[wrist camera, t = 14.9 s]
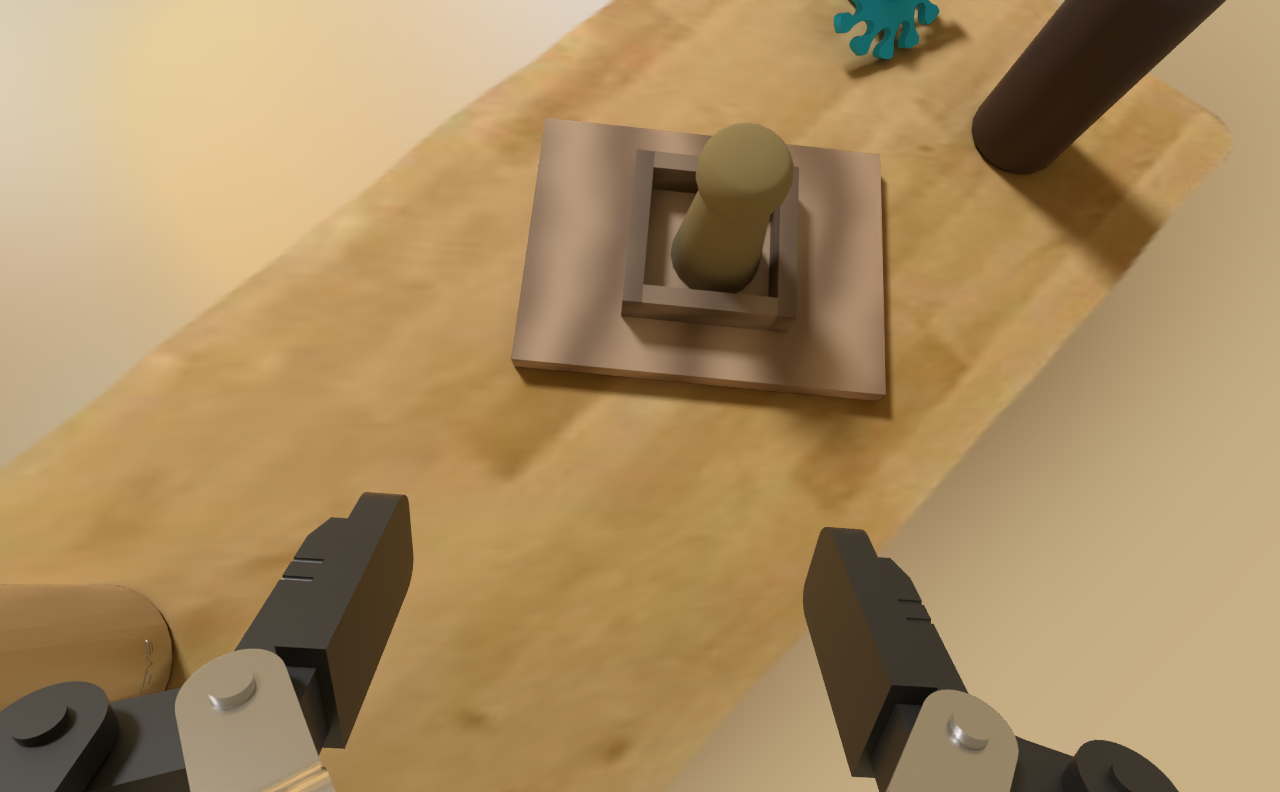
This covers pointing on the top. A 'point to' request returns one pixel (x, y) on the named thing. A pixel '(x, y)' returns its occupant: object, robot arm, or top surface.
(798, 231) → the jig board
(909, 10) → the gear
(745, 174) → the cork
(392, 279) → the top surface
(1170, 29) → the bottle
